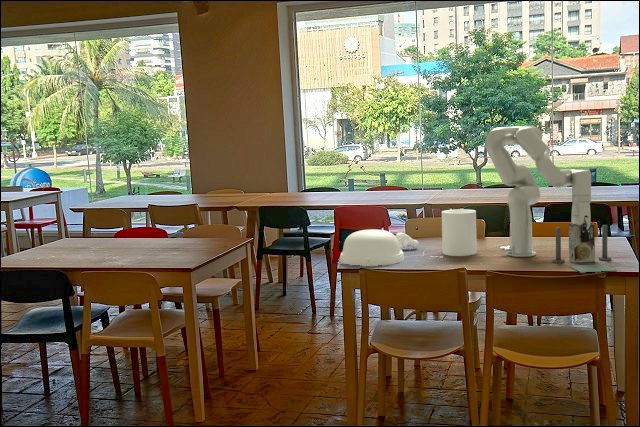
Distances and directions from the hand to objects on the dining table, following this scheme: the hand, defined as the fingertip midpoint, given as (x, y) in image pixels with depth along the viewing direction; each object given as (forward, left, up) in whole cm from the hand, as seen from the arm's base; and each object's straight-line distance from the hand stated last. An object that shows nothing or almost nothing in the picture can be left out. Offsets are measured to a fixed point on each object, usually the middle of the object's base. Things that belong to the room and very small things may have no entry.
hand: (581, 239), depth 293 cm
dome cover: (-89, +26, -10) cm, 93 cm away
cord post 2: (+10, 0, -9) cm, 14 cm away
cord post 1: (-10, 0, -9) cm, 14 cm away
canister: (-46, +32, -9) cm, 57 cm away
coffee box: (0, 0, -9) cm, 9 cm away
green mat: (-2, -17, -9) cm, 19 cm away
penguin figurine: (-69, +48, -9) cm, 85 cm away
